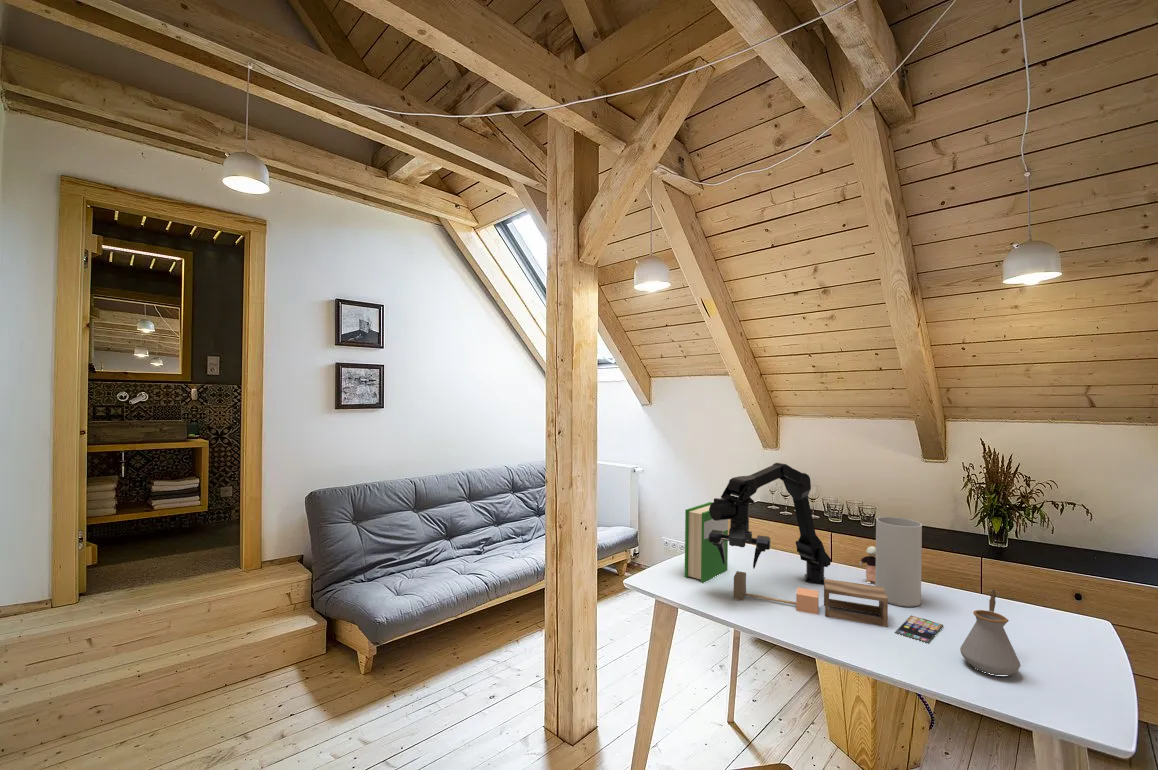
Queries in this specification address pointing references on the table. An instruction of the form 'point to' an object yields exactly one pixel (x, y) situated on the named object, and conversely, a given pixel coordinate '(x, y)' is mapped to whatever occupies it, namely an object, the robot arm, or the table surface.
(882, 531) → the cylinder vase
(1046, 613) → the table surface
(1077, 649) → the table surface
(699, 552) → the hardback book
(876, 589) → the shelf lane
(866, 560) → the grandmother figurine
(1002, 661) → the coffee pot
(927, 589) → the table surface
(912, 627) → the smartphone
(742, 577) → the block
